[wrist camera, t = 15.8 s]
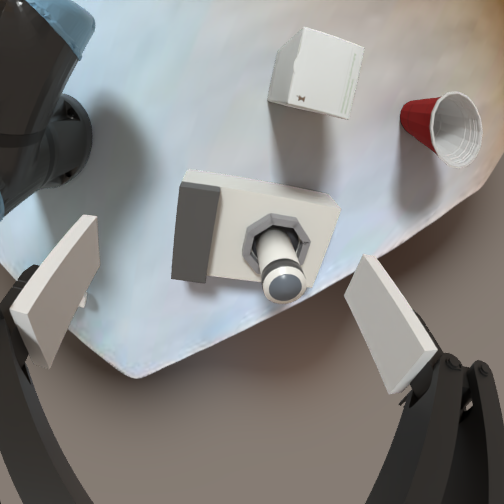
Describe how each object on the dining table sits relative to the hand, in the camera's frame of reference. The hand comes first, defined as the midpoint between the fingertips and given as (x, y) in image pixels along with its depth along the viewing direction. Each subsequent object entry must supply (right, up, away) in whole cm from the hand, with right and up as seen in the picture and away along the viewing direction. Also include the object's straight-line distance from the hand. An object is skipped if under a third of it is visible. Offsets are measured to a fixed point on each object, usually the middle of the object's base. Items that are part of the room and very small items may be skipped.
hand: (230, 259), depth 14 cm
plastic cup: (+27, +22, +25) cm, 43 cm away
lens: (+4, +1, +28) cm, 29 cm away
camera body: (+1, +5, +33) cm, 34 cm away
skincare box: (+7, +24, +22) cm, 34 cm away
